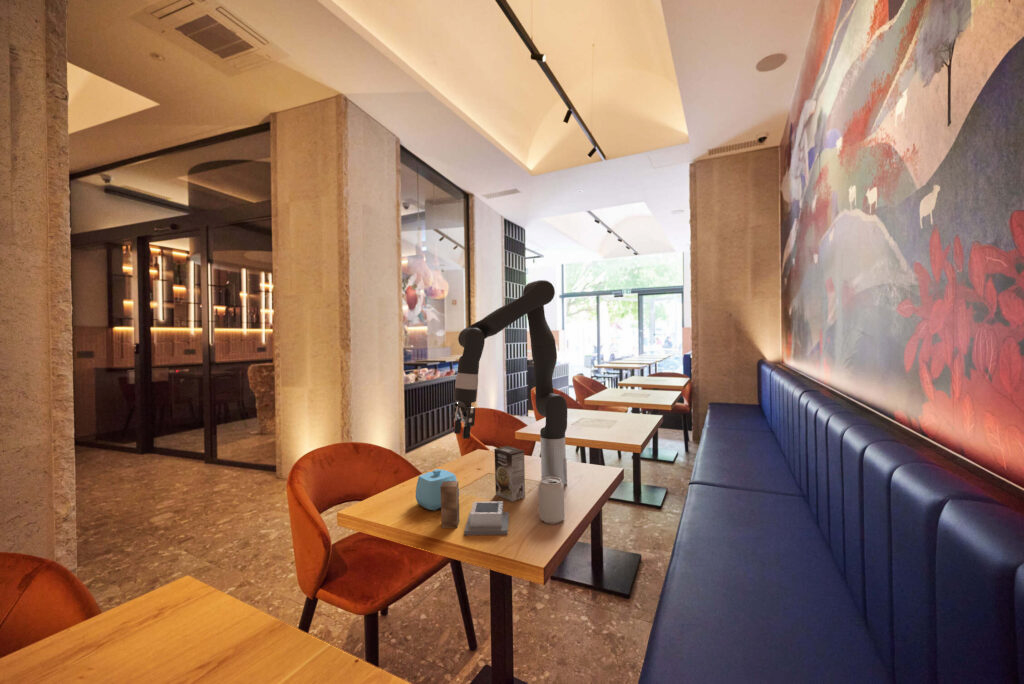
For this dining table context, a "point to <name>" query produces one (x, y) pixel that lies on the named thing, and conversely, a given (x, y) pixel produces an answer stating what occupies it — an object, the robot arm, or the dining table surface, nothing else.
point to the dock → (487, 519)
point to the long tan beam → (450, 504)
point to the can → (551, 500)
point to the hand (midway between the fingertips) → (461, 435)
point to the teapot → (432, 488)
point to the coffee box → (509, 473)
